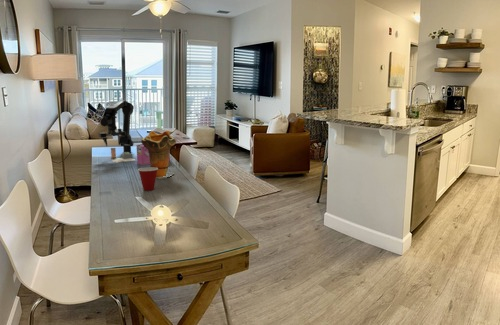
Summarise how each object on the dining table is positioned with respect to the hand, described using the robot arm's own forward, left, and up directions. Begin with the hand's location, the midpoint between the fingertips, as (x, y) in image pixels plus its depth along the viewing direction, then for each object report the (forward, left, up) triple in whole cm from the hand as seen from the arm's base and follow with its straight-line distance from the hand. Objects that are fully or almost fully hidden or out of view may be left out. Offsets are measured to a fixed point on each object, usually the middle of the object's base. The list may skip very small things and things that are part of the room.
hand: (113, 145), depth 295 cm
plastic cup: (+92, -14, -10) cm, 93 cm away
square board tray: (+11, +3, -10) cm, 15 cm away
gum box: (+29, +19, -10) cm, 36 cm away
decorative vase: (+67, +5, -10) cm, 67 cm away
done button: (+6, +8, -8) cm, 13 cm away
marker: (0, 0, -10) cm, 10 cm away
